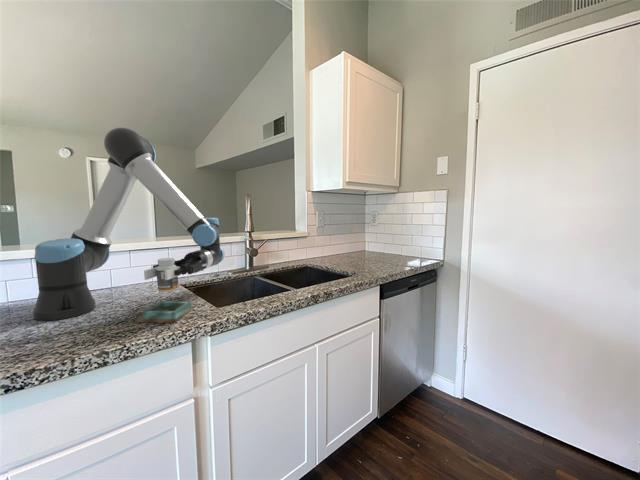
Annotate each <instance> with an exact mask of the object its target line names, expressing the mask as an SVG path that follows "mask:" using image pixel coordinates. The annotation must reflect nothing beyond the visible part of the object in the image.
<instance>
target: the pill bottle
mask: <svg viewBox="0 0 640 480" xmlns="http://www.w3.org/2000/svg"><path fill="white" fill-rule="evenodd" d="M175 261H176V258H174V257H165V258H158V259H157V264H159V266H158V267H157V269H156V272H157V276H156V280H157V281H156V282H157V283H156V284H157V291H158V292H159V293H170V292H171V293H172V292H176V291H177V290H179V276H177V277H174V278H172V279H169V280H165V272H164V271H166V270H169V269H172V268H175V267H177V266H176V265H174V263H175Z"/></svg>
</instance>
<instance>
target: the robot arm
mask: <svg viewBox="0 0 640 480" xmlns="http://www.w3.org/2000/svg"><path fill="white" fill-rule="evenodd" d="M103 145H104V149H105V151H106V153H107V154H108V155H109V158H108V160H107V161H106V162H107V165H109V169H108V172H107V174H106V176H105V178H104V181H103V182H102V184H101V187H100V189H99V191H98V193H97V194H96V197H95V198H94V201H93V204H92V206H91V207H90V210H89V211H88V213H87V216H86V218H85V220H84V221H83V224H82V226H81V228H78V229H75V230H74V231H73V232H72V234H71V237H70V238H57V239H51V240H46V241H42V242H40V243H38V244H37V245H35V248H34V261H35V266H36V277H37V285H38V286H37V287H38V295H37V299H36V303H35V307H34V308H33V309H32V310H33V311H32V315H33V319H34V320H36V321H43V322H44V321H58V320H64V319H69V318H73V317H78V316H82V315H85V314H87V313H90V312H92V311H94V310H95V309H96V307H97V305H96V300H95V298H94V297H93V294H92V293H91V291H90V288H89V286H88V279H87V276H88V275H87V273H89V272H92V271H95V270H97V269H100V268H101V267H102V266H103V265H104V264H106V262H107V261H108V260H109V257H110V256H111V255H110V254H111V251H110V250H111V249H110V247H111V245H112V239H111V238H110V236H111V234H112V232H113V230H114V227H115V225H116V223H117V221H118V219H119V217H120V215H121V213H122V210H123V209H124V206H125V204H126V203H127V200H128V198H129V196H130V194H131V192H132V190H133V188H134V186H135V184H136V182H137V180H138V181H139V182H140V183H141V184H142V186H144V187H145V188H146V190H147V191H148V192H149V193H150V194H152V196H153V197H154V198H155V199H156V200H157V201H158V202H159V204H160V205H162V206H163V207H164V208H165V209H166V211H167V212H168V213H170V215H171V216H172V217H173V218H174V219H175V220H176V221H177V222H178V223H179V224H180V225H181V226H182V227H183V228H184V229H185V231H187V233H189V235H190V236H191V238H192V240H193V242H194V243H195V245H197V246H199V249H198V250H195V251H194V250H193V251H191V252H188V253H186V254H185V255H184V257H183V258H180V259H178V260H175V263H174V265H176V266H177V267H175V268H172V269H169V270H166V271H164V272H165V280H169V279H172V278H174V277H177V276H178V277H179V276H182V275H183V276H184V275H186V274H188V275H192V274H196V273H199V272H203V271H204V270H206V269H208V268H210V267H214V266H217V265H218V264H220V263H221V262H223V261H224V259H225V250H224V249H223V248H222V247H221V243H220V242H221V240H220V222H219V221H220V220H219V218H217V217H205V216H203V214H202V213H201V212H200V211H199V210H198V208H196V206H194V204H193V203H192V202H191V201H190V200H189V198H187V197H186V196H185V194H184V193H183V192H182V191H181V190H180V188H178V187H177V186H176V184H174V183H173V182H172V180H171V179H170V178H169V177H168V176H167V175H166V174H165V173H164V171H162V169H161V168H160V167H159V166H158V165H157V164H156V163H155V162H156V158H157V154H156V150H155V147H154V146H153V145H152V143H150V141H149V140H148V139H146V138H145V137H143V135H142V136H141V135H140V134H139V133H137V132H136V131H134V130H133V129H131V128H128V127H115V128H113V129H110V130H109V131H108V132H107V133H106V135H105V137H104V141H103ZM158 266H159V264H158V263H157V264H153V265H152V267H151V268H149V269H146V270H143V272H144V273H143V274H144V280H147V281H149V280H151V279H153V278H155V277H156V278H157V272H156V269H157V267H158Z"/></svg>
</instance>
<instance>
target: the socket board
mask: <svg viewBox="0 0 640 480" xmlns="http://www.w3.org/2000/svg"><path fill="white" fill-rule="evenodd" d="M191 312H192V301H160V302H158V303H156V304H155V305H153V306H150V307H149V308H148V309H145V310H143V311H142V312H141V315H140V316H138V317H137V318H135V322H136V323H174V324H175V323H177V322H178V321H180V320H181V319H183V318H184V317H185V316H187V315H188V314H189V313H191Z"/></svg>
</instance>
